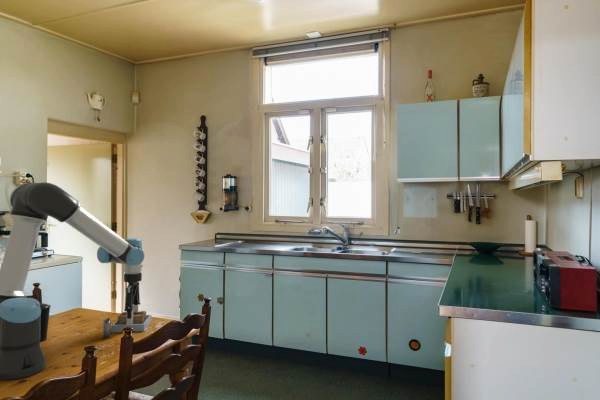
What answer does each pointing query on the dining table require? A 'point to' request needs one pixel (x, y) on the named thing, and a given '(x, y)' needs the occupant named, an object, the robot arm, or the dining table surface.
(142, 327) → the tray
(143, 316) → the grey-brown rectangular block
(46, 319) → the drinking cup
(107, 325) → the stake
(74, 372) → the dining table surface
